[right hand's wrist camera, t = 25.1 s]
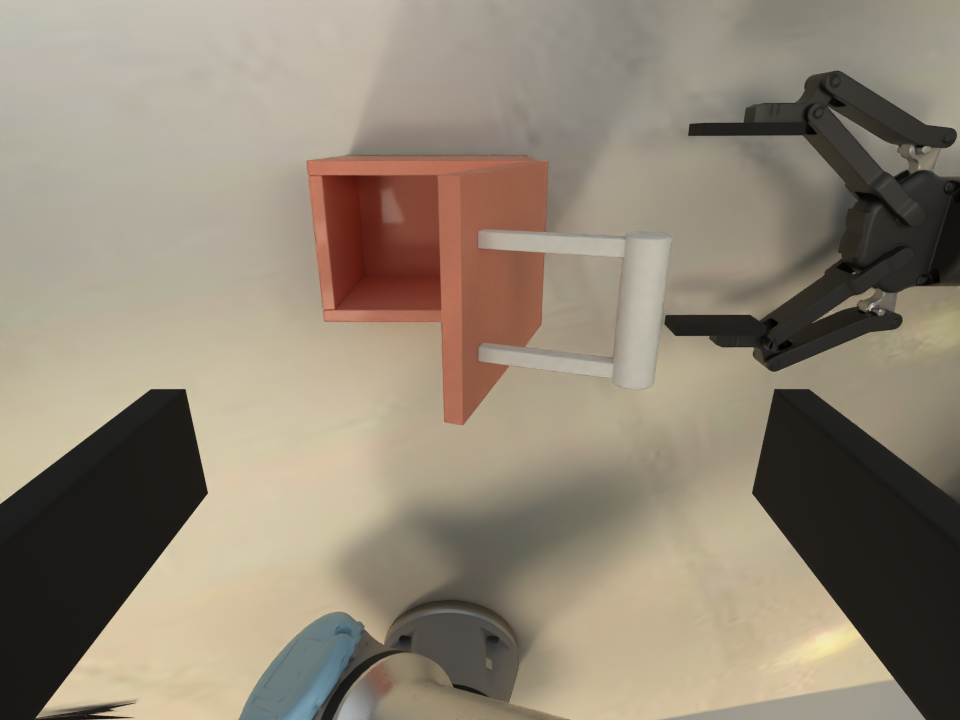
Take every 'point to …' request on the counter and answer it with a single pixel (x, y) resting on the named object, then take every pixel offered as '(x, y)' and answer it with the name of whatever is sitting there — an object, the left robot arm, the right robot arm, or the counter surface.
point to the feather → (84, 715)
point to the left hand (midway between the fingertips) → (681, 233)
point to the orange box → (530, 286)
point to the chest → (383, 233)
